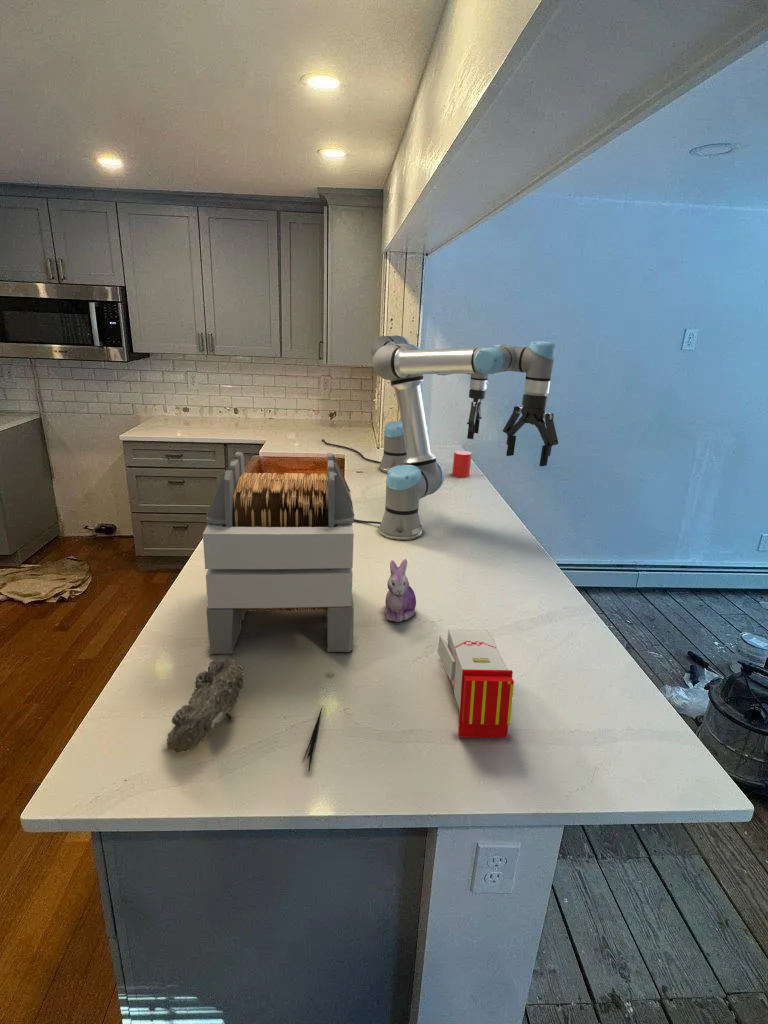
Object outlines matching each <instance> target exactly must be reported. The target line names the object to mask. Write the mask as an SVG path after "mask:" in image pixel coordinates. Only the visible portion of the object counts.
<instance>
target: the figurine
mask: <svg viewBox="0 0 768 1024" xmlns="http://www.w3.org/2000/svg"><path fill="white" fill-rule="evenodd" d="M407 567H408V559H406V558H404V559H403V560H402V561H401V563H400V565H399V566H398V565H397V563H396V562H395V561H394V560H393V559H391V560H390V561H389V570H390V576H389V578H388V579H387V589H388V591H387V592H386V594H385V595H386V596H385V607H384V615H385V616H386V620H387V621H391V622H395V623H400V622H402V621H406V620H409V619H410V618H411V617H413V616H414V615H415V610H416V606H417V597H416V593H415V591H414V590H413V587H411V586H410V582H409V579H408V577H407V574H406V571H407Z"/></svg>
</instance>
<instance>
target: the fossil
mask: <svg viewBox="0 0 768 1024" xmlns="http://www.w3.org/2000/svg"><path fill="white" fill-rule="evenodd" d="M243 670H244V669H243V667H242V665H240V664H237V662H236V661H235V660H234V659H232V658H231V659H227V658H226V659H224V660H223V661H222V660H217V659H212V660H211V661H210V663H209V665H208V666H207V671H201V672H199V673H198V674H197V675H196V676H195V680H194V684H195V685H194V687H195V689H194V690H193V693H192V694H191V697H190V698H189V700H188V704H184V705H182V706H181V707H180V709H177V710H176V711H175V713H174V715H173V716H172V718H171V723H172V724H173V727H172V730H171V731H170V732H168V734H167V738H166V741H167V742H166V745H167V749H168V750H169V751H173V752H174V753H176V754H178V753H182V752H188V751H189V752H192V751H193V750H195V748H196V747H197V746H199V744H200V743H201V742H203V741H204V740H205V739H206V738H207V737H208V736H209V735H210V734H211V733H212V732H214V730H215V729H217V727H218V726H219V724H220V722H221V721H222V720H223V719H224V718H225V716H226V717H227V719H229V720H233V717H232V715H230V714H229V710H230V709H231V708H234V706H235V704H236V703H237V702H238V699H239V697H240V695H241V693H242V691H243V690H245V689H244V688H245V675H244V671H243Z"/></svg>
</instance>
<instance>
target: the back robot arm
mask: <svg viewBox="0 0 768 1024" xmlns="http://www.w3.org/2000/svg"><path fill="white" fill-rule="evenodd" d="M406 343H407V344H411V343H410V341H409V340H408V339H407V338H406V337H404V336H403V335H402V336H401V335H398V334H395V335H380V336H377V337H376V338H375V339H373V341H372V342H371V344H370V353H371V355H372V357H373V358H374V355H375V353H376V352H377V350H378V349H379V348H381V347H383V346H385V345H395V344H406ZM448 375H449V376H450V374H436V376H448ZM488 379H489V374H478V373H472V374H470V380H469V388H470V389H469V390H468V398H469V399H473V400H472V401H471V402H470V403H471V404H470V409H469V416H468V421H467V422H466V424H467V426H468V428H467V436H466V438H467V440H474V437H475V434H479V430H480V421H481V420H482V418H483V416H482V401H483V400H486V397H487V387H488V385H489V384H490V383H489V380H488ZM394 393H395V394H394V395H395V398H396V402H397V407H398V408H399V404H398V398H397V392H396V390H395V389H394ZM398 411H399V412H400V410H399V409H398ZM426 426H427V433H428V436H429V435H430V428H429V425H428V423H426ZM320 442H321V443H322V442H323V443H324V444H325V445H327V446H332V447H337V448H341V449H347V450H349V451H352V452H354V453H356V454H358V455H359V456H361V458H362V459H363V460H365V461H367V462H371V463H375V464H379V465H378V470H379V471H380V472H381V473H384V474H387V473H388V471H389V470H390V469H391V468H392V467H394V466H398V465H400V466H401V465H404V461H405V460H406V458H407V452H406V446H405V440H404V434H403V428H402V422H401V417H400V418H399V420H396V421H395V420H393V421H389V422H387V423H386V424H385V425H384V431H383V455H382V458H381V461H379V460H374V459H370V458H367V457H365V456H364V455H363V454H362V453H361V452H360V451H358V450H356V449H354V448H352V447H347V446H345V445H339V444H335V443H329V442H326V440H325V439H324V438H323V439H321V441H320Z"/></svg>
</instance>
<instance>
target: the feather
mask: <svg viewBox="0 0 768 1024" xmlns="http://www.w3.org/2000/svg"><path fill="white" fill-rule="evenodd" d="M329 675H330V676H331V675H332V674H331V673H330V674H329ZM322 710H323V707H321V708H320V710H319V713H318V716H317V719H316V723H315V725H314V728H313V731H312V733H311V737H310V739H309V742H308V745H307V748H306V751H305V754H304V757H303V760H302V763H301V767H302V765H303V763H304V761H305V758H308V759H309V760H308V762H307V763H308V764H307V766H308V771H310V770H311V766H312V765H311V764H312V760H313V757H315V756H314V755H315V751H316V749H315V746H317V739H318V733H319V729H320V722H321V717H322V712H323V711H322ZM313 754H314V755H313ZM306 755H307V757H306Z"/></svg>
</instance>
